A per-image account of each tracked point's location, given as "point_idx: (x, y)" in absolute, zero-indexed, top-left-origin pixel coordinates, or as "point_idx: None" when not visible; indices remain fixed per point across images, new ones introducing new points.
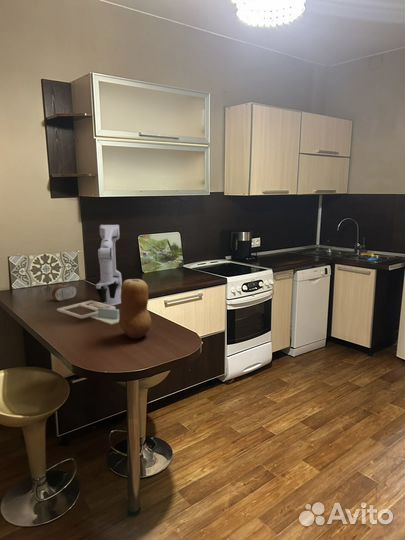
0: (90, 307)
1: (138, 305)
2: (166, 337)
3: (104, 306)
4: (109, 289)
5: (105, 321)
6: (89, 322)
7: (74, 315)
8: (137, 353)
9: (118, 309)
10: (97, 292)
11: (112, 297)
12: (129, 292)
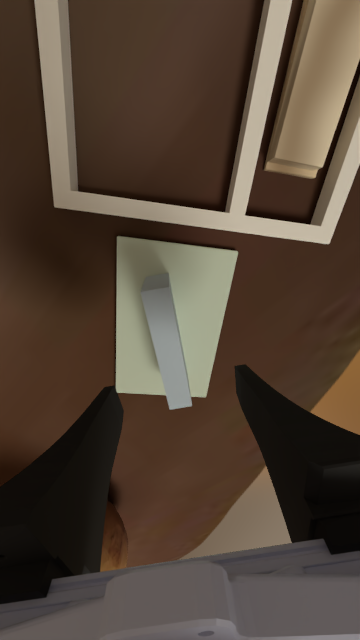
0: (259, 53)
1: None
2: (139, 534)
3: (314, 163)
4: (269, 421)
5: (116, 359)
6: (67, 292)
7: (49, 110)
8: None
9: (190, 402)
10: (32, 466)
11: (237, 388)
12: None
